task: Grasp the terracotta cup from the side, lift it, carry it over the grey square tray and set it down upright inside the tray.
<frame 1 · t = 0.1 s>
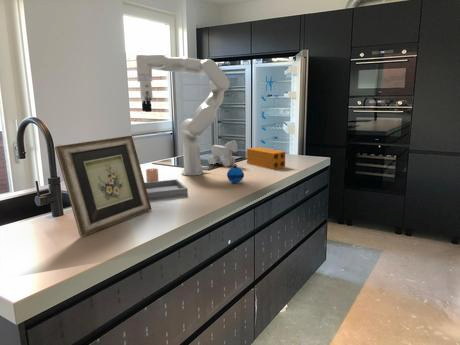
hand: (146, 111, 200), 37 cm above the countertop, tool pointing down, fingers open, 9 cm apart
pony: (223, 165, 239), on the countertop
ornament: (235, 183, 192), on the countertop
brick: (265, 166, 237), on the countertop
grey square tray: (161, 192, 176), on the countertop
picture frame: (111, 221, 139), on the countertop
terracotta cup: (152, 184, 192), on the countertop
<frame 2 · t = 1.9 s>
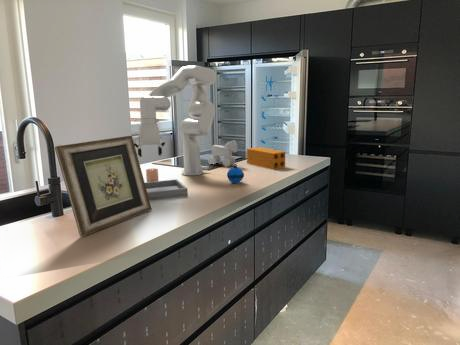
hand: (150, 155, 188), 15 cm above the countertop, tool pointing down, fingers open, 9 cm apart
nothing on the countertop moved.
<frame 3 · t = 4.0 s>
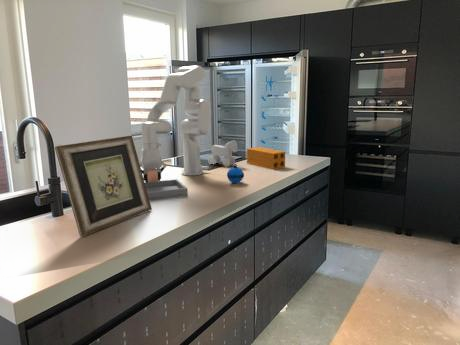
hand: (152, 180, 191), 2 cm above the countertop, tool pointing down, fingers closed on terracotta cup, 6 cm apart
terracotta cup: (152, 184, 192), on the countertop, touching gripper
everything else where it was.
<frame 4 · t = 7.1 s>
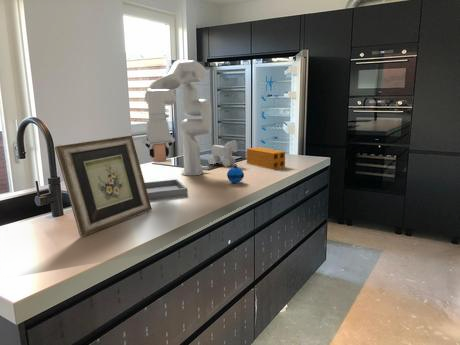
hand: (159, 156, 172), 17 cm above the countertop, tool pointing down, fingers closed on terracotta cup, 6 cm apart
terracotta cup: (159, 160, 172), point 15 cm above the countertop, touching gripper
everything else where it was.
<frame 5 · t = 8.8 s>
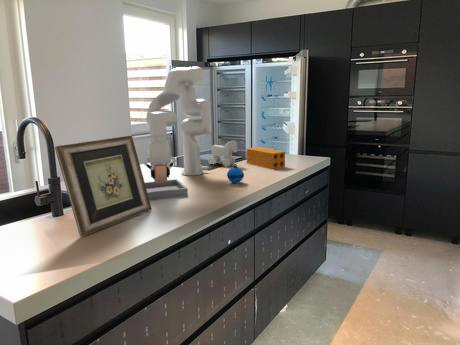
hand: (160, 177, 174), 8 cm above the countertop, tool pointing down, fingers closed on terracotta cup, 6 cm apart
terracotta cup: (160, 181, 174), point 6 cm above the countertop, touching gripper
everything else where it was.
when the fingers open (4 cm above the countertop, at t = 10.4 s): terracotta cup stays where it is, resting on grey square tray.
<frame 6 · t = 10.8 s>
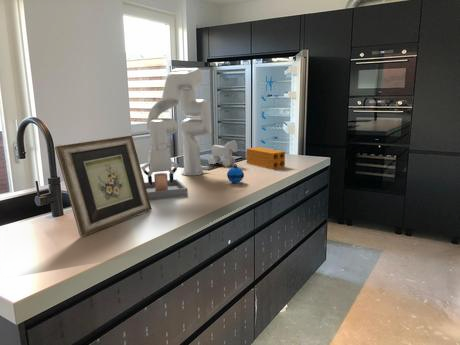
hand: (161, 183, 175), 5 cm above the countertop, tool pointing down, fingers open, 9 cm apart
terracotta cup: (161, 190, 176), point 1 cm above the countertop, touching grey square tray
everything else where it was.
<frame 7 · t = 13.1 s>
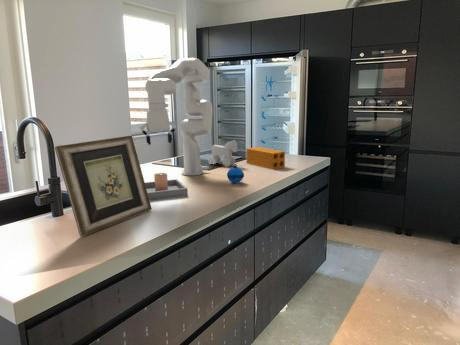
hand: (159, 143, 176), 23 cm above the countertop, tool pointing down, fingers open, 9 cm apart
nothing on the countertop moved.
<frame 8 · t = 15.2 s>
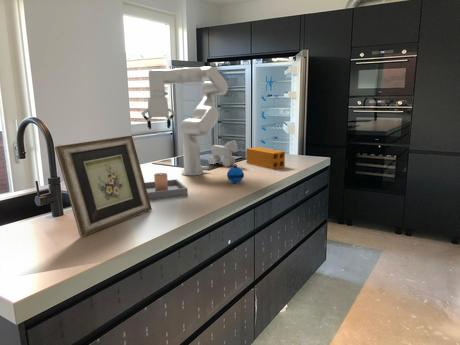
hand: (159, 128, 192), 28 cm above the countertop, tool pointing down, fingers open, 9 cm apart
nothing on the countertop moved.
at the end: terracotta cup inside the target area on the grey square tray (0.1 cm from its centre), point 1.0 cm above the grey square tray's base; terracotta cup tilted 0°; the gripper is holding nothing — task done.
